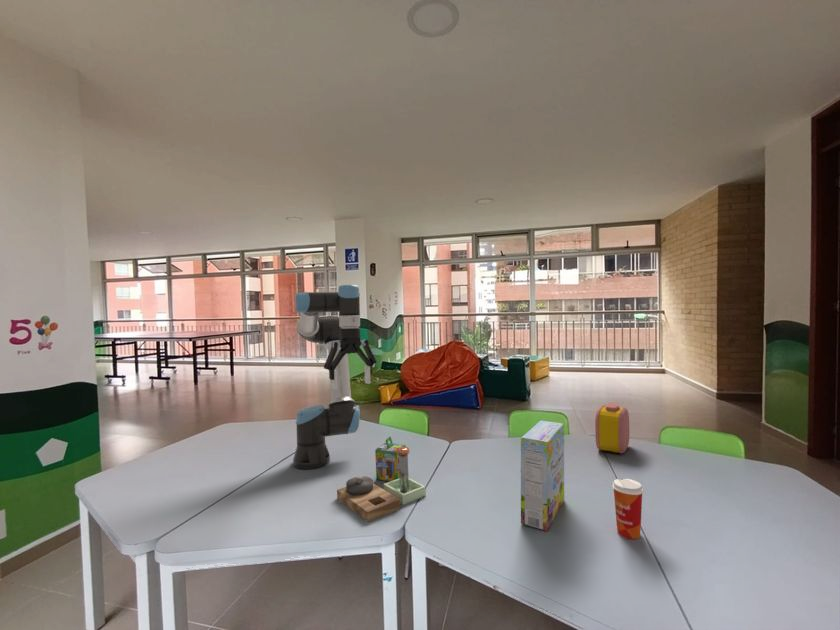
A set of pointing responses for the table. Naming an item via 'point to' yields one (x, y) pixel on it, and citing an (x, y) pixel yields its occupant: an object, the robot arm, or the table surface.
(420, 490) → the tray
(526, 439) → the snack box
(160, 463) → the table surface
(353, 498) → the block
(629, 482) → the paper cup
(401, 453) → the lock pin
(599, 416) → the pink and yellow case
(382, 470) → the chalk box
